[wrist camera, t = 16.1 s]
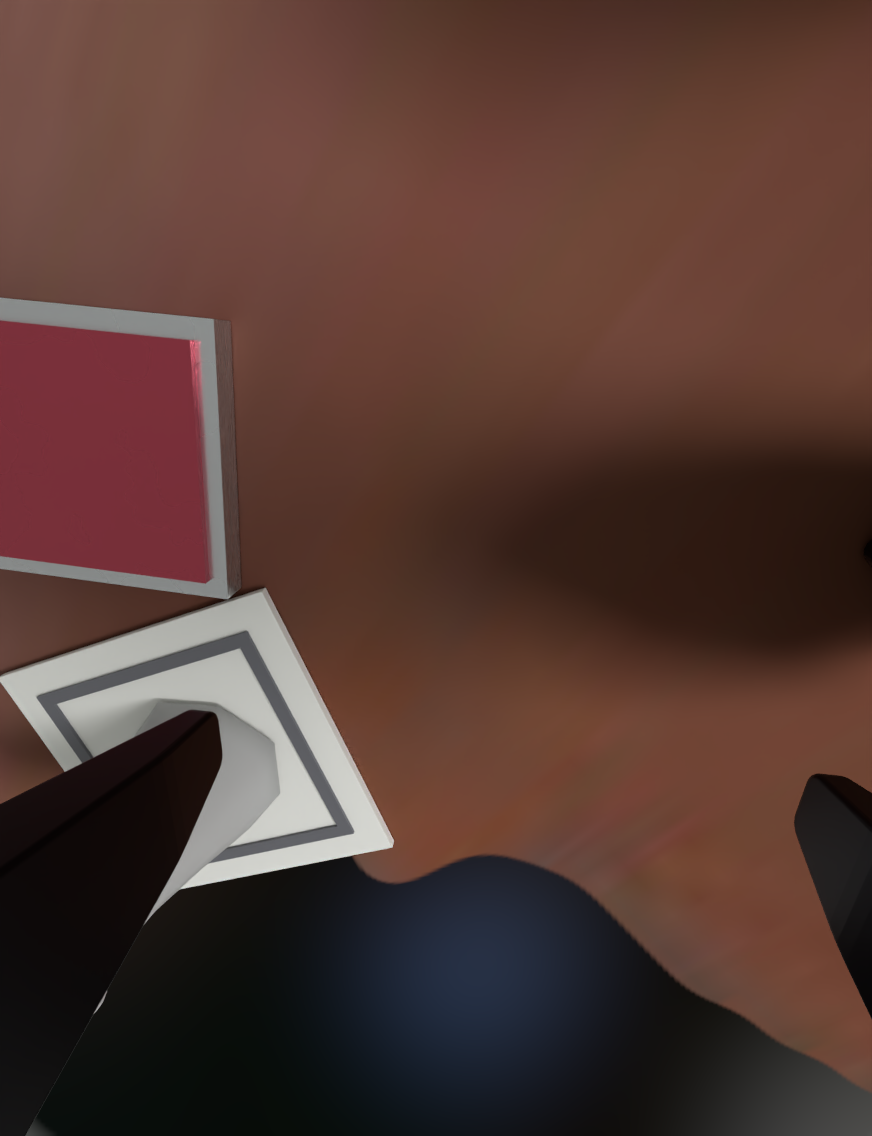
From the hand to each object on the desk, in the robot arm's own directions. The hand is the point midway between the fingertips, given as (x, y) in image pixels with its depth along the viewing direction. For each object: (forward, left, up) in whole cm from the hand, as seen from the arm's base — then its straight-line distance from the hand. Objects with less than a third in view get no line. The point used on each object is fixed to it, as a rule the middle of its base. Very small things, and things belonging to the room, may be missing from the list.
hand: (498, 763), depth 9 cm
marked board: (0, +18, -13) cm, 22 cm away
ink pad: (+12, +9, -13) cm, 20 cm away
